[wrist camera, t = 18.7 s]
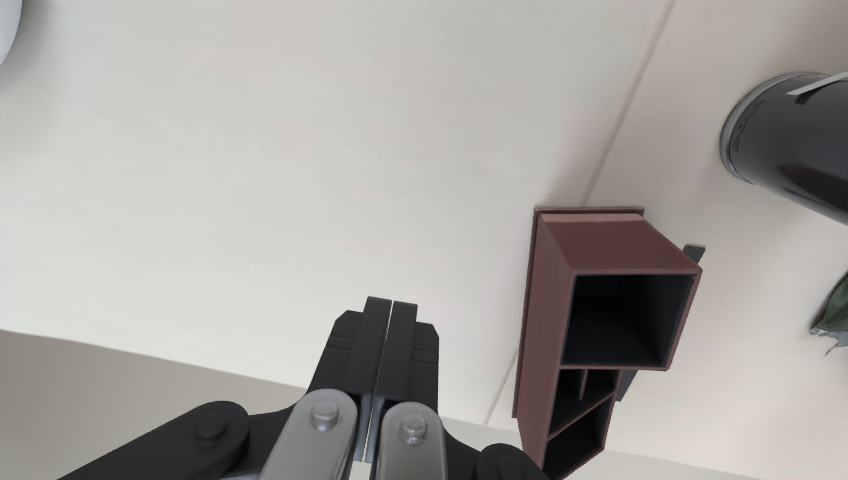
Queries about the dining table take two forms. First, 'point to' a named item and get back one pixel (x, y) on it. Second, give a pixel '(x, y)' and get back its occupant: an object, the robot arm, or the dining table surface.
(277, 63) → the dining table surface
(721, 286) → the dining table surface
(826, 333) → the rose bouquet
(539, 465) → the desk organizer
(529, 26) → the dining table surface
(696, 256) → the tape line
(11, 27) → the bowl
